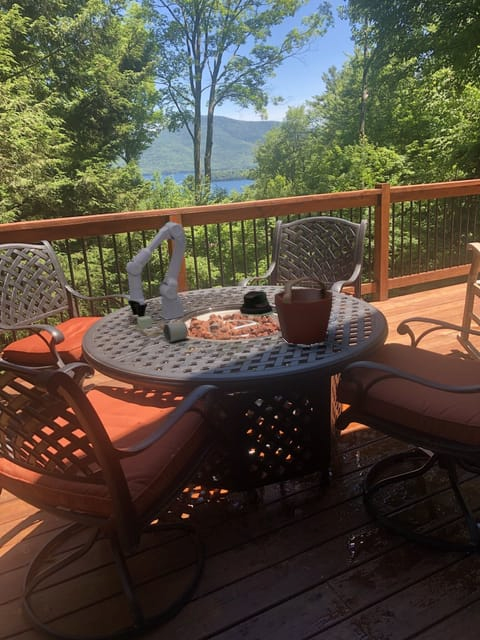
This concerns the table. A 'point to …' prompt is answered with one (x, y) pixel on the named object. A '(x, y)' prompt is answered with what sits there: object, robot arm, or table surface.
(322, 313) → the bucket
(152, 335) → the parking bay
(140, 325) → the sage block
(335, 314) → the table surface
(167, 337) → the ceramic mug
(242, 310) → the dark fedora hat
